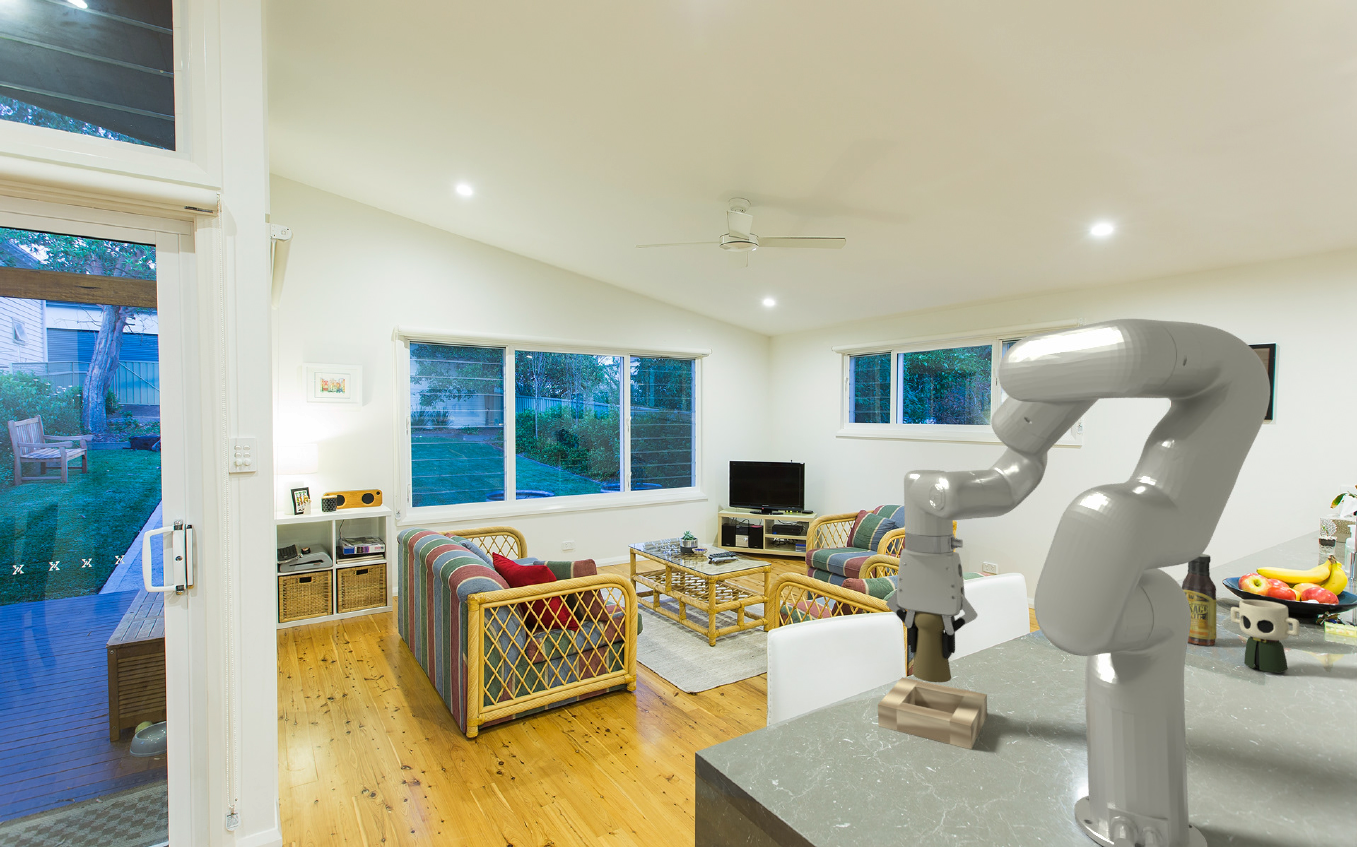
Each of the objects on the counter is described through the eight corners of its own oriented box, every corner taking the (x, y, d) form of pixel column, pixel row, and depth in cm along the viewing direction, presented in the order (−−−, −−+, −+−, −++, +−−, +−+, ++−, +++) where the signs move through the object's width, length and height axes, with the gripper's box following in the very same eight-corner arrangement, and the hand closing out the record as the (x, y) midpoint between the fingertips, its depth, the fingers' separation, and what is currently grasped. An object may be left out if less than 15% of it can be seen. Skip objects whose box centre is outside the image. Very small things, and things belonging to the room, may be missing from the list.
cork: (955, 683, 101) (953, 615, 101) (915, 680, 102) (914, 613, 102) (946, 669, 106) (945, 605, 107) (909, 667, 108) (908, 603, 108)
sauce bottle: (1174, 640, 142) (1171, 552, 142) (1190, 636, 144) (1186, 550, 145) (1209, 648, 136) (1205, 557, 136) (1224, 644, 138) (1220, 554, 139)
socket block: (971, 749, 94) (970, 725, 94) (878, 725, 102) (877, 704, 102) (987, 715, 105) (986, 694, 105) (902, 696, 113) (902, 677, 114)
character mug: (1222, 663, 127) (1219, 599, 128) (1242, 658, 130) (1240, 595, 130) (1291, 682, 117) (1288, 612, 118) (1311, 676, 120) (1308, 608, 120)
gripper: (988, 545, 103) (990, 656, 102) (884, 536, 112) (886, 638, 112) (979, 552, 97) (982, 670, 96) (871, 542, 106) (873, 650, 106)
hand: (931, 652), depth 104 cm, fingers closed on cork, 4 cm apart
